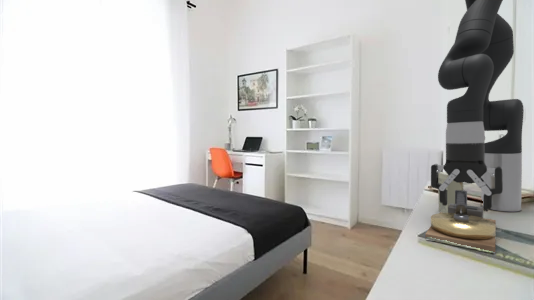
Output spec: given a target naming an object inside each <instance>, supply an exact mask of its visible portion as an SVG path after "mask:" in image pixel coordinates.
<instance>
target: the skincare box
mask: <svg viewBox="0 0 534 300" xmlns="http://www.w3.org/2000/svg"><path fill="white" fill-rule="evenodd" d="M448 177H449V175H448V174H447V173H446V172H445V171H441V172H440V173H439V176H438V183H440V184H443V183H444V181H445V180H446V179H447V178H448ZM437 190H438V189H437ZM446 190H447V205H446V206H445V205H442V203H440V196H439V190H438V192H437V193H438V212H439V213H440V212H442V213H448V206H449V205H450V203H451V204H455V190H464V182H461V183H457V182H455V181H452V183H451V184H450V185H449V186H448V187H447V188H446Z"/></svg>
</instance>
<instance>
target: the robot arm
mask: <svg viewBox="0 0 534 300" xmlns="http://www.w3.org/2000/svg"><path fill="white" fill-rule="evenodd" d="M464 1H465V7H466V11H465V12H464V14H463V16H462V18H461V20H460V22H459V25H458V27H457V30H456V31H457V32H456V35H455V40H454V43H453V45H452V46H451V48H450V49H449V51H448V53H447V54H446V55H445V58H444V59H443V61H442V63H441V64H440V66H439V70H438V73H437V82H438V84H439V85H440V87H441V88H442V89H444V90H447V91H451V90H459V89H463V88H465V89H466V88H467V89H466V91H465V92H464V94H463V95H461V96H459V97H455V98H454V99H450V100H449V101H448V103H447V105H446V128H445V163H444V165H443V164H438V163H434V164H432V165H431V167H430V187H431V188H435V189H437V190H439V196H440V203H442V205H445V206H446V205H447V190H446V188H447V187H448V186H449V185H450V184H451V183H452V181H455V182H457V183H461V182H463V183H466V184H476V186H477V187H478V188H479V189H480V190H481V192H480V193H481V194H480V195H481V199H482V201H483V206H482V207H483V212H488V211H489V210H494V211H499V212H520V211H522V181H523V180H522V179H523V176H522V175H523V174H522V173H523V172H522V171H523V169H522V166H523V164H522V162H523V160H522V159H523V148H522V147H523V125H524V124H523V123H524V114H525V113H524V110H525V109H524V103H523V102H522V100H521V99H520V98H519V99H518V98H511V99H510V98H509V99H501V100H500V99H498V100H492V101H490V99H489V98H490V94H491V91H492V88H493V87H494V85H495V83H496V82H497V80H498V79H499V77H500V76H502V75H501V74H502V73H503V72H504V70H505V69H506V68H507V67H508V65H509V63H511V60H512V58H513V56H514V52H515V47H514V32H513V31H514V29H513V28H512V27H511V24H510V23H509V22H508V21H507V20H506V19H504V18H503V17H502V16H501V14H499V10H500V7H501V5H502V3H503V0H464ZM492 131H493V132H495V131H496V132H497V131H498V132H499V131H500V132H501V131H507V132H506V134H505V135H504V136H502V137H500V138H498V139H495V140H492V141H487V142H485V140H486V136H485V132H492ZM443 170H444V172H446V173H447V174H448V175H449V177H448V178H447V179H446V180H445V181H444V183H443V184H440V183H438V176H439V173H440V172H443ZM481 199H480V200H481Z"/></svg>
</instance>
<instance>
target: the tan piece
mask: <svg viewBox="0 0 534 300" xmlns="http://www.w3.org/2000/svg"><path fill="white" fill-rule="evenodd" d="M439 213H442V212H440V211H439ZM448 213H455V204H451V203H450V205H449V206H448ZM467 215H472V216H477V217H481V218H484V219H487V220H489V221H491V222H493V223H494V224H495V236H494V237H492V238H489V239H468V238H461V237H455V236H451V235H447V234H444V233H441V232H439V231H437V230H435V229H433V228H432V227H431V225H430V226H429V227H428V229H427V231H426V232H425V238H426V237H432V238H436V239H440V240H447V241H450V242H454V243H457V244H461V245H467V246H471V247H476V248H480V249H484V250H489V251H493V252H495V253H496V239H495V237H496V236H497V235H496V234H497V233H496V232H497V231H496V229H497V225H496V224H497V223H496V222H497V220H496V219H491V218H485V217H484V210H483V206H476V205H475V206H474V205H468V204H467ZM496 238H497V237H496Z"/></svg>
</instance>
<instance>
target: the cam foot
mask: <svg viewBox="0 0 534 300" xmlns="http://www.w3.org/2000/svg"><path fill="white" fill-rule="evenodd" d="M467 205H468V191H467V190H466V189H465V190H464V189H463V190H455V213H440V212H438V213H434V214H432V215H431V216H430V226H431V227H432V228H433V229H435V230H437V231H439V232H441V233H444V234H447V235H451V236H455V237H461V238H468V239H489V238H492V237H494V236H495V224H494V223H493V222H491V221H489V220H487V219H488V218H485V217H483V218H481V217H477V216H472V215H467ZM484 218H485V219H484Z"/></svg>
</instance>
